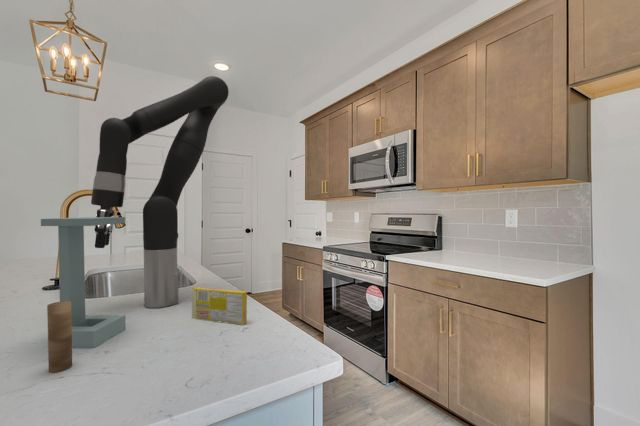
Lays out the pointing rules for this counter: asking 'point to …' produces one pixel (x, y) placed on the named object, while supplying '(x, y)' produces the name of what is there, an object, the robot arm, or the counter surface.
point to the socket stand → (81, 281)
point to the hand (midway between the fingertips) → (101, 246)
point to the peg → (59, 336)
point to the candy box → (219, 305)
